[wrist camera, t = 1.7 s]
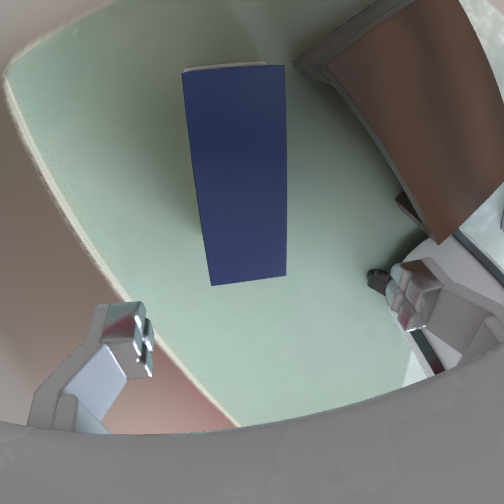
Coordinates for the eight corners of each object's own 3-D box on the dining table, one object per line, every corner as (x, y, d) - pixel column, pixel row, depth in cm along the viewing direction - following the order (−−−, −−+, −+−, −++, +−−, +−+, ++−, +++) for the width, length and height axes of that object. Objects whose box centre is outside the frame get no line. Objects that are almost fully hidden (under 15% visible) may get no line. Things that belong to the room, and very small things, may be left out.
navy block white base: (185, 68, 17) (178, 69, 12) (262, 61, 17) (286, 61, 13) (206, 238, 24) (210, 289, 20) (269, 230, 25) (287, 278, 20)
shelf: (395, -11, 14) (447, -19, 10) (475, 140, 22) (519, 164, 18) (292, 63, 18) (325, 65, 13) (400, 209, 26) (438, 246, 21)
